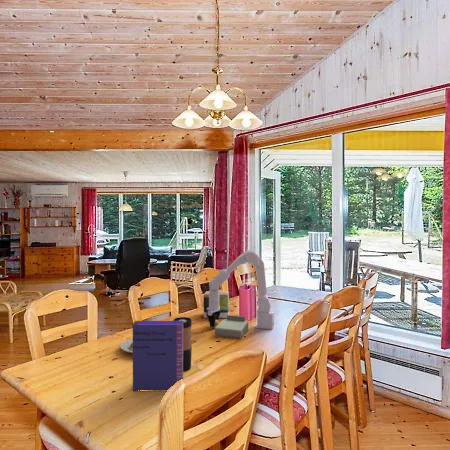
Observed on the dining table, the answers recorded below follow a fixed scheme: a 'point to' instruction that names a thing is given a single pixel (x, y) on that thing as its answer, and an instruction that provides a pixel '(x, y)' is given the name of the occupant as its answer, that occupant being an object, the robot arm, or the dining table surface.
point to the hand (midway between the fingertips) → (214, 325)
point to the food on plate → (127, 346)
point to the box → (231, 333)
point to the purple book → (157, 354)
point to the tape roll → (215, 324)
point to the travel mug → (186, 342)
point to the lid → (232, 323)
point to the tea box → (222, 303)
